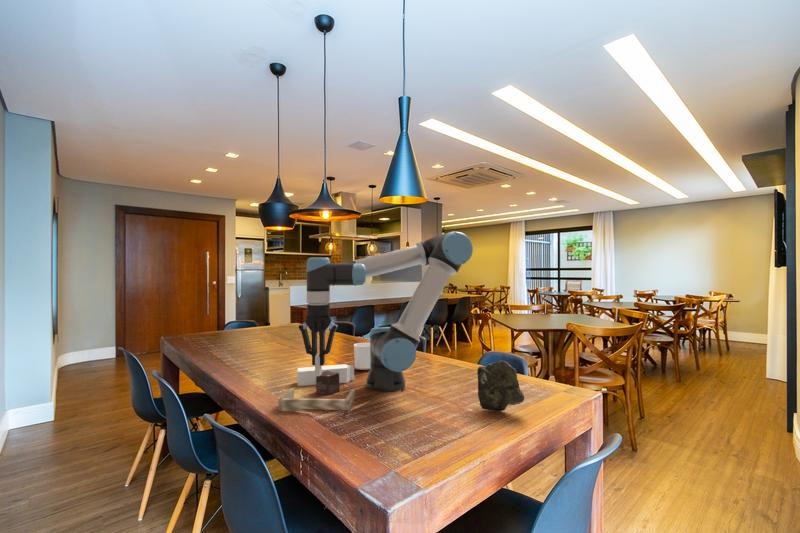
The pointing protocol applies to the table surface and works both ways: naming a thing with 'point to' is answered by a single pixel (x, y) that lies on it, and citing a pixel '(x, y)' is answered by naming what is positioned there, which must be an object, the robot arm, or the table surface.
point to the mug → (362, 356)
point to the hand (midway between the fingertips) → (318, 375)
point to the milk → (308, 373)
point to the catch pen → (314, 403)
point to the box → (327, 383)
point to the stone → (498, 386)
